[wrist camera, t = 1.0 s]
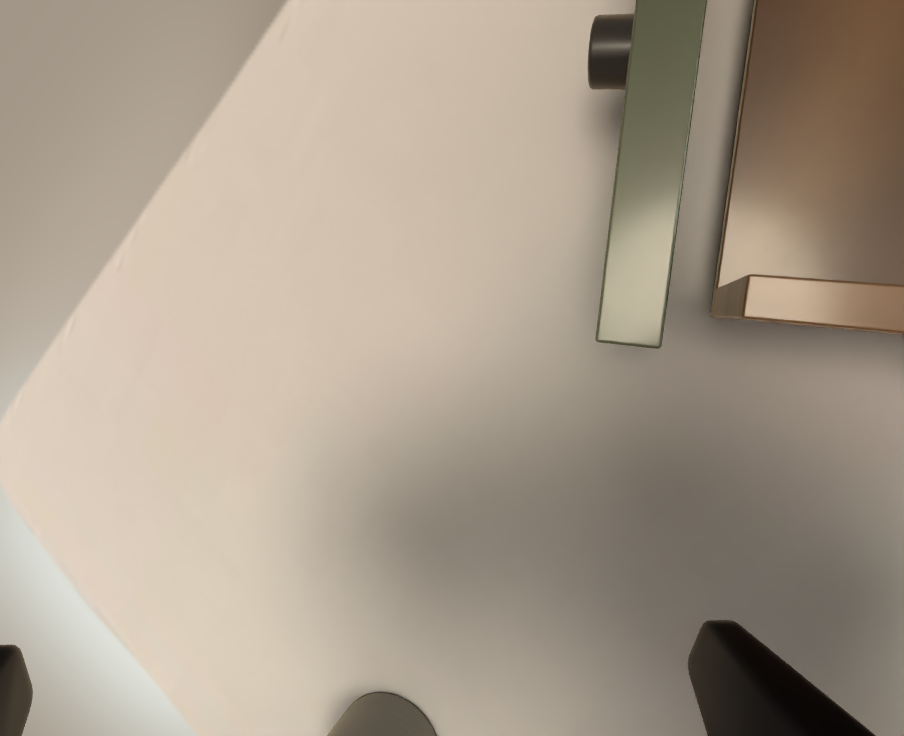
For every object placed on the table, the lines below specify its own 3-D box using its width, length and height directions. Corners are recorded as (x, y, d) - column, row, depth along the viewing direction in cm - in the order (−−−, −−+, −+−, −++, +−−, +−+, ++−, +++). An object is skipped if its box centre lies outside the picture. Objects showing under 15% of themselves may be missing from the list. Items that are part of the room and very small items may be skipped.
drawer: (578, 327, 20) (532, 335, 13) (633, -139, 18) (617, -444, 11) (1085, 380, 16) (1445, 435, 9) (1206, -199, 15) (1766, -722, 7)
